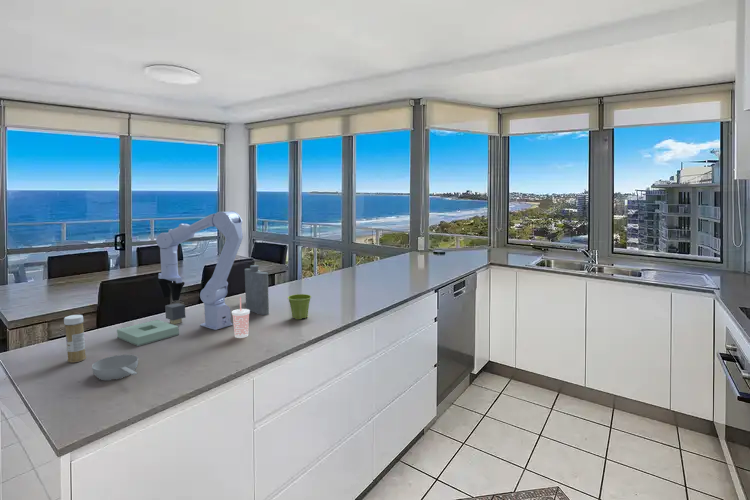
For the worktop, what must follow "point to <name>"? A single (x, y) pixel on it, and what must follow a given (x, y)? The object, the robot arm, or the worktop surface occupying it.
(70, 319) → the sprinkles bottle
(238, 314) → the beverage cup
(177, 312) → the plug
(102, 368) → the small pan
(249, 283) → the hip flask
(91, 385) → the worktop surface
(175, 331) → the socket block
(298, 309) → the plant pot
